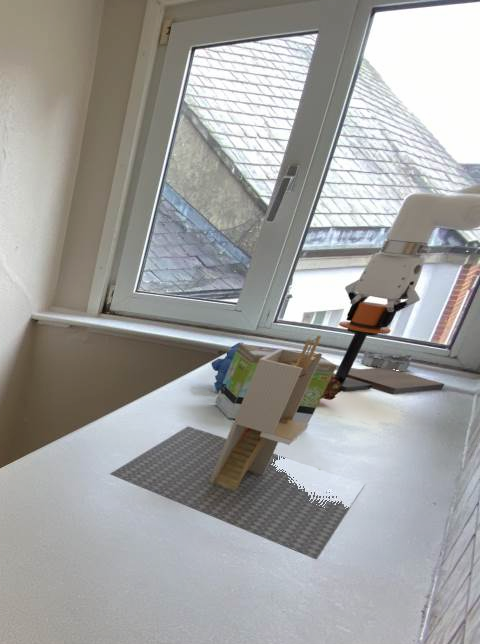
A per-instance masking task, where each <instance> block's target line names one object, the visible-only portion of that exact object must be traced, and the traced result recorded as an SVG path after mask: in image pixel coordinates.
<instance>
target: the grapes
mask: <svg viewBox="0 0 480 644" xmlns="http://www.w3.org/2000/svg"><path fill="white" fill-rule="evenodd" d="M239 344H245V343H244V342H238V343H235V344H234V345H232V346H231V347H230V349H229V350H227V351H226V352H225V353H226V356H224V358H217V359H215V360H214V361H211V363H210V364H211V367H212V370H214V371H215V372H217V373H216V374H215V375H214V379H215V382H214V383H213V384H214V388H215V389H216V391H217V392H219V391H220V389H221V386H222V384H223V381H224V379H225V376H226V374H227V371H228V369H229V367H230V364H231V362H232V359H233V357H234V355H235V352H236V350H237V348H238V346H239Z"/></svg>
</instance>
